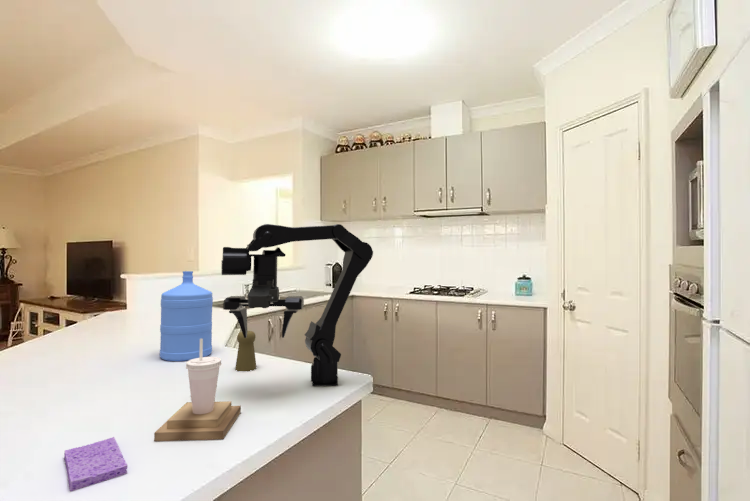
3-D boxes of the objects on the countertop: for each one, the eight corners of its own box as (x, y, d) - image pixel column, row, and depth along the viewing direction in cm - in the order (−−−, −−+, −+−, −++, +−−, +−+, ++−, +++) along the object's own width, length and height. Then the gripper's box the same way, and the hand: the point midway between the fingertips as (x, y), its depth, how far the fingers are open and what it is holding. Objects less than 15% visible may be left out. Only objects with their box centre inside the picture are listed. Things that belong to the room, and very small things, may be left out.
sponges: (69, 495, 55) (70, 482, 55) (63, 459, 64) (63, 448, 64) (128, 476, 59) (128, 464, 59) (114, 446, 69) (114, 435, 69)
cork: (250, 372, 111) (250, 333, 111) (230, 370, 112) (231, 332, 113) (260, 366, 117) (260, 329, 117) (242, 365, 118) (242, 329, 119)
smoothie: (185, 407, 78) (186, 336, 78) (219, 402, 80) (220, 334, 80) (184, 419, 72) (186, 343, 72) (221, 413, 74) (223, 340, 75)
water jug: (198, 362, 121) (200, 272, 122) (149, 361, 122) (150, 272, 122) (219, 350, 137) (220, 270, 137) (175, 349, 137) (176, 270, 138)
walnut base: (240, 412, 82) (240, 398, 83) (223, 439, 71) (223, 422, 71) (182, 414, 82) (182, 399, 82) (154, 441, 70) (154, 424, 70)
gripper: (216, 276, 88) (215, 345, 88) (299, 276, 90) (298, 344, 90) (230, 274, 99) (229, 335, 99) (304, 274, 101) (303, 334, 101)
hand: (264, 337), depth 97 cm, fingers open, 9 cm apart
